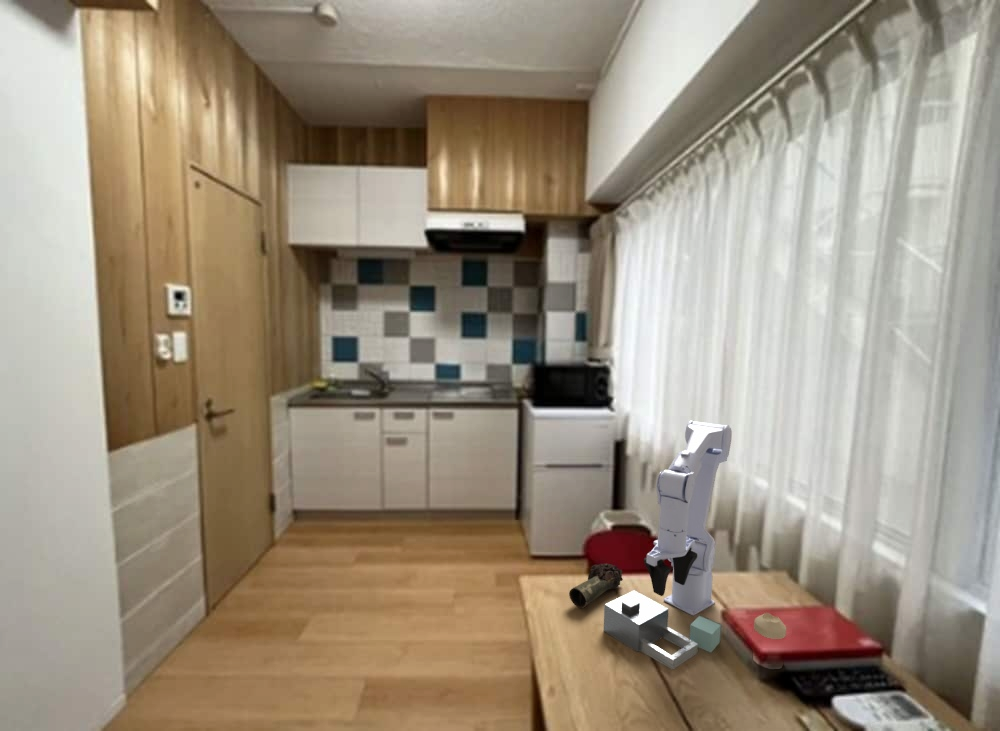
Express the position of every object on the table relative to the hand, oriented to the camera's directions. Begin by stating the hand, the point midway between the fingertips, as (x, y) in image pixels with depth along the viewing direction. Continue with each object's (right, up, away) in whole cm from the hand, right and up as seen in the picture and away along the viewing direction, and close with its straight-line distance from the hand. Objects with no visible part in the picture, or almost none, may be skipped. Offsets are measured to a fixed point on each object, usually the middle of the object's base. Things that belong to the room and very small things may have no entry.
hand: (669, 588), depth 109 cm
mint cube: (+5, -8, -5) cm, 11 cm away
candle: (+16, -11, -9) cm, 22 cm away
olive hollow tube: (-17, -11, +11) cm, 23 cm away
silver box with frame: (-4, -10, -2) cm, 11 cm away
